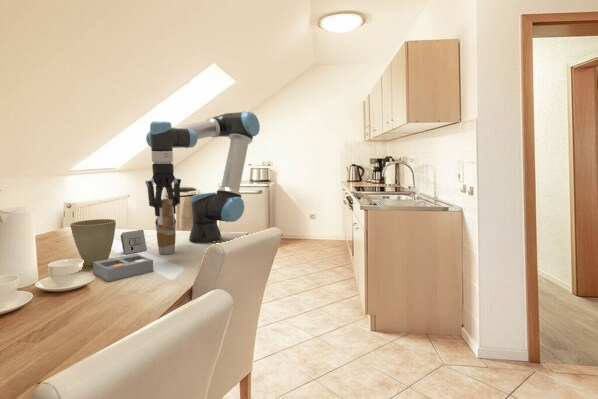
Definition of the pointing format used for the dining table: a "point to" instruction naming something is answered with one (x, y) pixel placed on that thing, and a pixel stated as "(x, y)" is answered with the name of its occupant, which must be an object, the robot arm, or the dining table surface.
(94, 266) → the grey compartment tray
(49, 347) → the dining table surface
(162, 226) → the plug
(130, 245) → the electrical switch
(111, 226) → the plant pot
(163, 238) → the coffee cup
